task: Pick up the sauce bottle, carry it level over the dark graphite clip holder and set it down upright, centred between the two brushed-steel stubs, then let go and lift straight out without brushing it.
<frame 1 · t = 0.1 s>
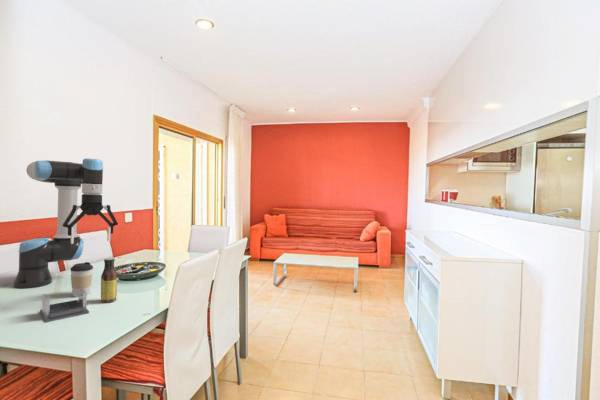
hand: (91, 242, 138), 28 cm above the table, fingers open, 13 cm apart
clip holder: (64, 312, 129), on the table
coffee cup: (81, 295, 150), on the table
sauce bottle: (108, 301, 144), on the table
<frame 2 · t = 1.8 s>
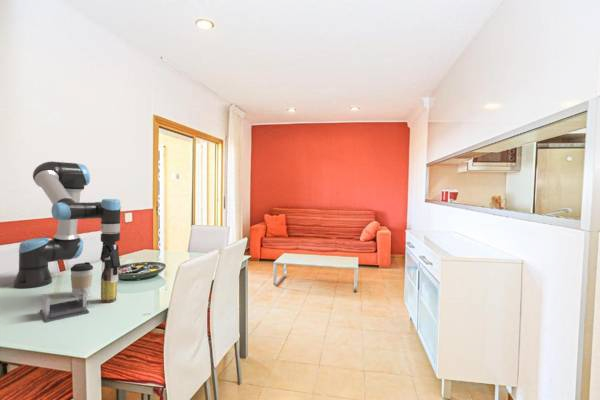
hand: (109, 278, 143), 10 cm above the table, fingers open, 13 cm apart
nothing on the table moved.
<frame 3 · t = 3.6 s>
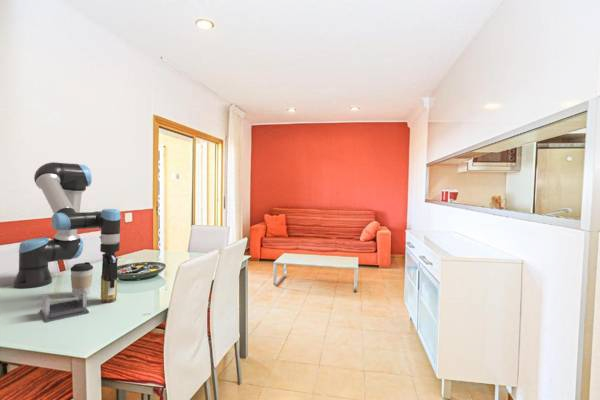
hand: (108, 292, 144), 4 cm above the table, fingers closed on sauce bottle, 6 cm apart
sauce bottle: (108, 301, 144), on the table, touching gripper
everything else where it was.
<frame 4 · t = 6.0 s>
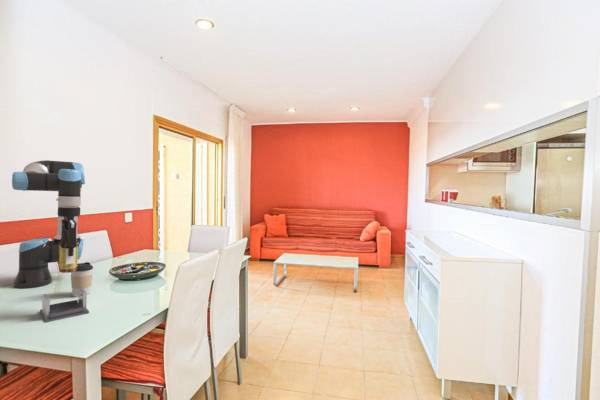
hand: (68, 262, 129), 21 cm above the table, fingers closed on sauce bottle, 6 cm apart
sauce bottle: (67, 271, 130), point 17 cm above the table, touching gripper
everything else where it was.
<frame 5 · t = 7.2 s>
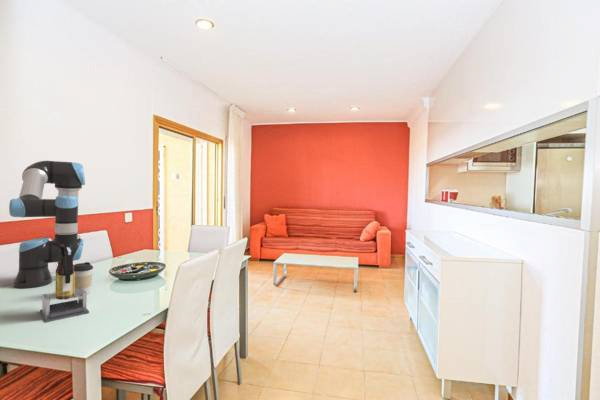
hand: (65, 288, 129), 10 cm above the table, fingers closed on sauce bottle, 6 cm apart
sauce bottle: (64, 298, 129), point 6 cm above the table, touching gripper
everything else where it was.
when the fingers open (6 cm above the table, at t = 8.5 s): sauce bottle drops 1 cm, resting on clip holder.
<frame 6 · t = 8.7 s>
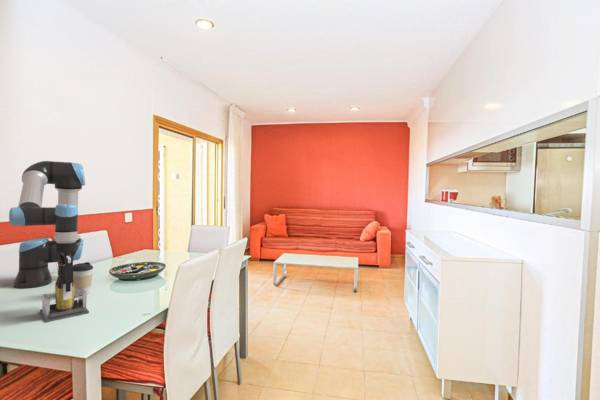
hand: (64, 295, 129), 7 cm above the table, fingers open, 8 cm apart
sauce bottle: (64, 310, 129), point 1 cm above the table, touching clip holder
everything else where it was.
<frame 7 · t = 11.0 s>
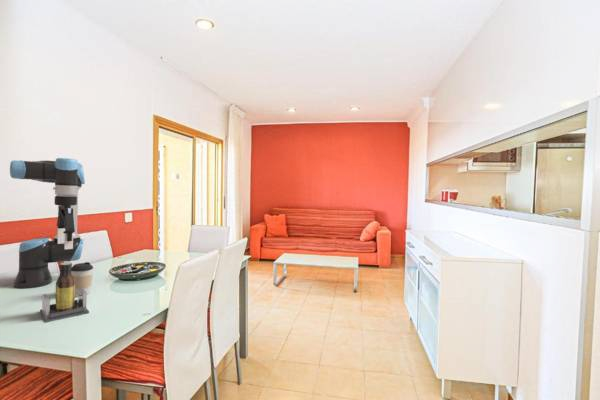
hand: (64, 246, 131), 27 cm above the table, fingers open, 13 cm apart
nothing on the table moved.
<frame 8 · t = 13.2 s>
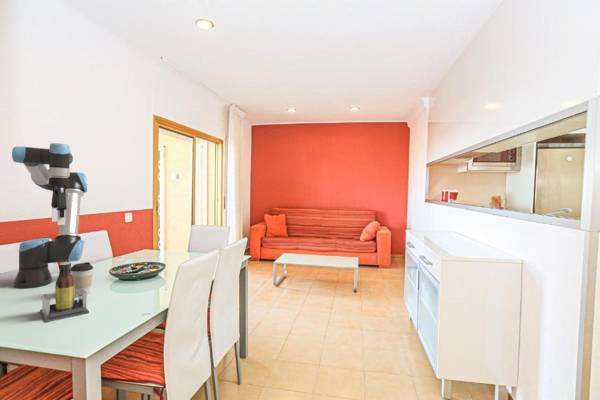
hand: (58, 223, 145), 35 cm above the table, fingers open, 13 cm apart
nothing on the table moved.
at the end: sauce bottle inside the target area on the clip holder (0.2 cm from its centre), point 0.6 cm above the clip holder's base; sauce bottle tilted 0°; the gripper is holding nothing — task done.
